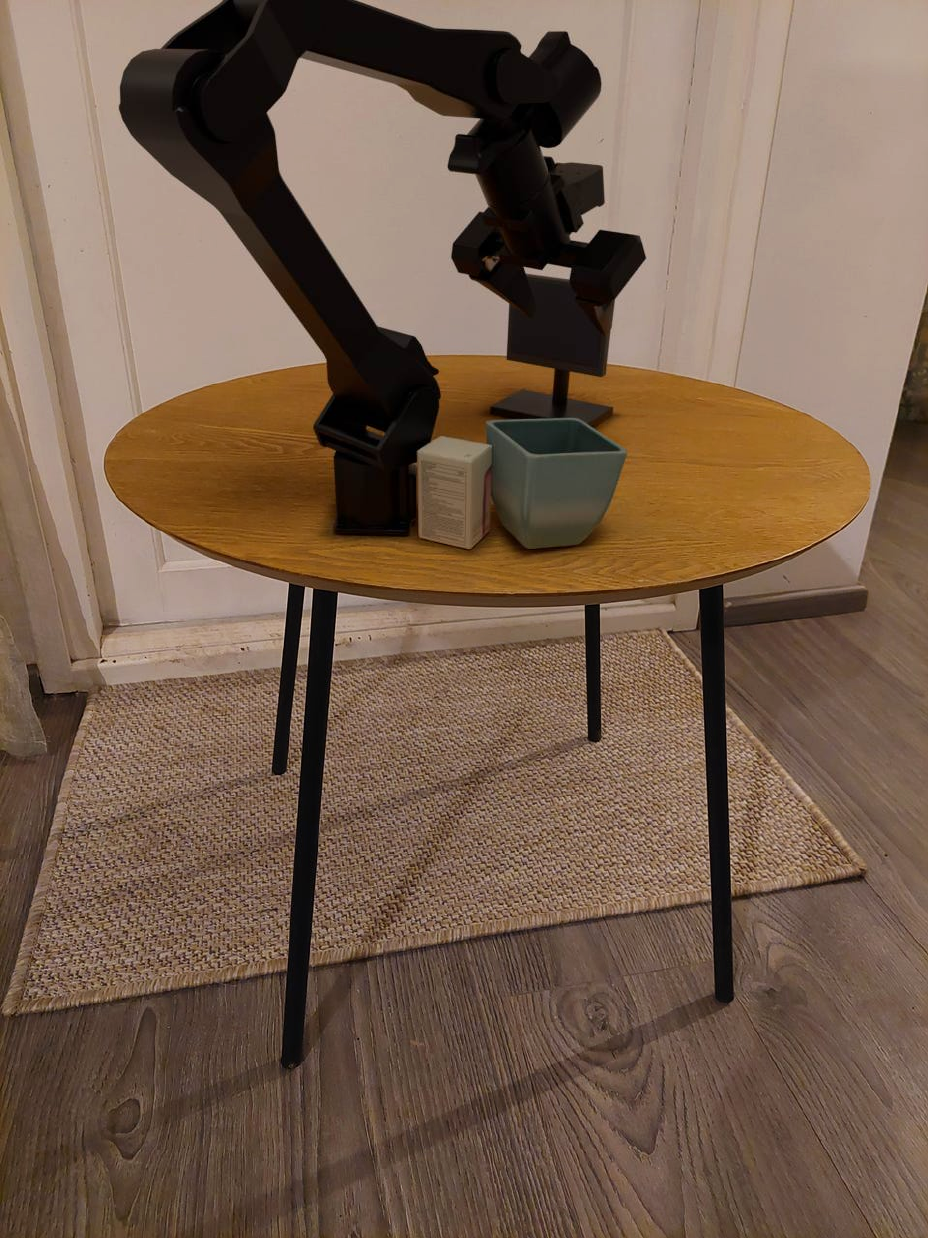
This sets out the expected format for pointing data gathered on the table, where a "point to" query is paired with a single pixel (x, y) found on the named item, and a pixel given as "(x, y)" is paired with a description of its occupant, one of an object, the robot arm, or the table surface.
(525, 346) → the monitor screen
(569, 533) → the flower pot
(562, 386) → the monitor stand
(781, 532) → the table surface
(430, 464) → the small box
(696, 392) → the table surface
